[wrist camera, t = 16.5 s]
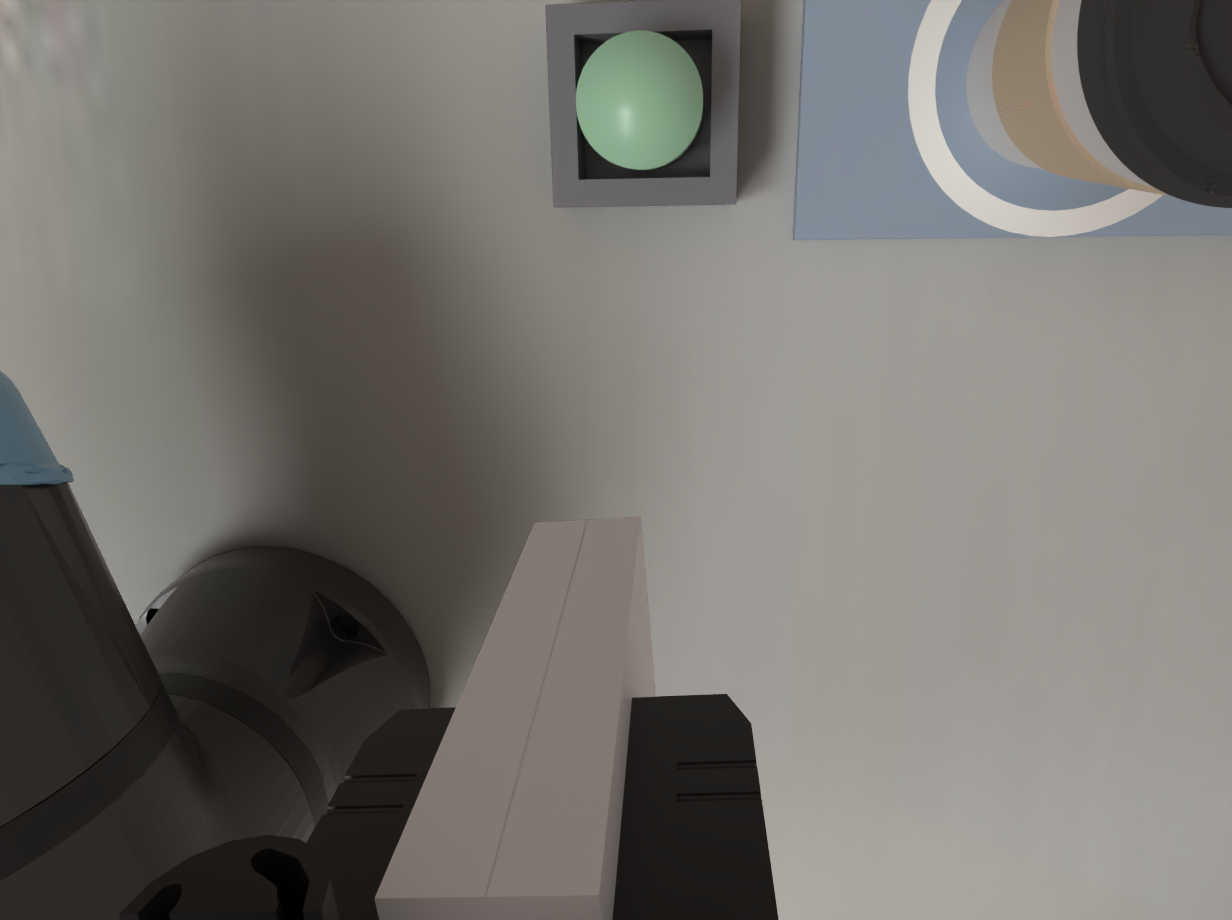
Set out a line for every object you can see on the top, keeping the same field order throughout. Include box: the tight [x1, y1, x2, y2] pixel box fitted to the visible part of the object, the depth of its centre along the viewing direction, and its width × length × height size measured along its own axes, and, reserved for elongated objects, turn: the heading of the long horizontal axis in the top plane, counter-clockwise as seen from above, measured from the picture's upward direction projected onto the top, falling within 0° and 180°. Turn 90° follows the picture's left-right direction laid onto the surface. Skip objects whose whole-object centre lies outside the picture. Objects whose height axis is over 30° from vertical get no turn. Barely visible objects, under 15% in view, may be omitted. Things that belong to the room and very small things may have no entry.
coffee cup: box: [966, 0, 1232, 208], centre depth 24 cm, size 9×9×15 cm
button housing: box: [545, 0, 741, 207], centre depth 32 cm, size 7×7×3 cm
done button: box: [576, 30, 703, 171], centre depth 31 cm, size 4×4×4 cm
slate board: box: [793, 0, 1232, 240], centre depth 32 cm, size 20×12×1 cm, turn 91°
